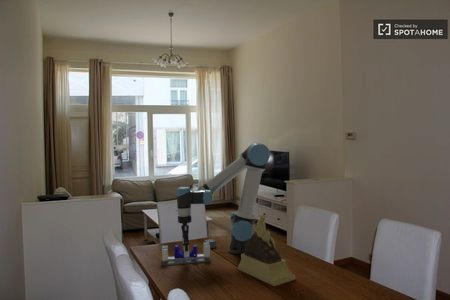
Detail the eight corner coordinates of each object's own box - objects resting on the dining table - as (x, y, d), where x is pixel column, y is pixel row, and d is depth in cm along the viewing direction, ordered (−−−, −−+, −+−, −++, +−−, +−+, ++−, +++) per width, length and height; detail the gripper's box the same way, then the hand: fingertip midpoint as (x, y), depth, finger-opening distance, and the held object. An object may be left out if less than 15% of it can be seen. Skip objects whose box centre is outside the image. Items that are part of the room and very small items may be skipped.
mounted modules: (208, 252, 220) (208, 241, 220) (210, 256, 213) (209, 244, 213) (162, 256, 216) (161, 245, 216) (162, 260, 209) (161, 248, 209)
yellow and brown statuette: (295, 279, 181) (293, 216, 179) (274, 286, 174) (272, 220, 172) (258, 264, 204) (256, 207, 203) (238, 269, 197) (236, 211, 196)
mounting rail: (208, 255, 222) (208, 251, 222) (210, 261, 210) (210, 258, 210) (162, 258, 218) (162, 255, 218) (162, 265, 206) (162, 262, 206)
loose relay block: (211, 245, 242) (211, 239, 242) (216, 247, 237) (216, 241, 237) (204, 246, 240) (204, 240, 240) (209, 249, 235) (208, 242, 235)
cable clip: (174, 258, 213) (174, 247, 212) (176, 255, 217) (175, 245, 217) (195, 258, 211) (195, 247, 211) (197, 255, 216) (197, 244, 215)
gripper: (177, 211, 225) (178, 247, 226) (178, 220, 201) (180, 260, 201) (189, 210, 226) (191, 246, 227) (192, 219, 202) (194, 259, 203)
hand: (186, 253), depth 214 cm, fingers open, 13 cm apart
